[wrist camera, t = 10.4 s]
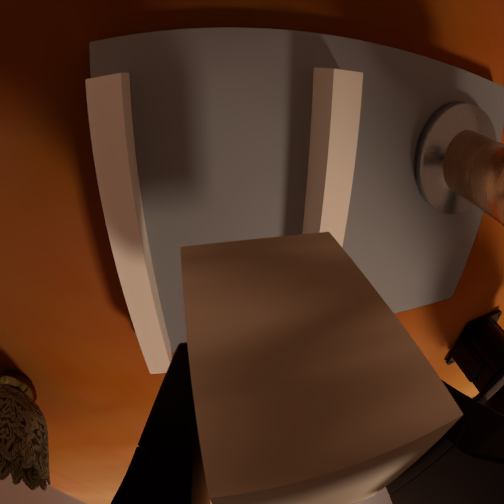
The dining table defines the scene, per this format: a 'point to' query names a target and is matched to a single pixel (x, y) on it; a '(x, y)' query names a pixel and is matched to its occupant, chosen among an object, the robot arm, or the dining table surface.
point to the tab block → (302, 374)
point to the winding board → (270, 159)
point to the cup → (22, 433)
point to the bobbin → (460, 161)
